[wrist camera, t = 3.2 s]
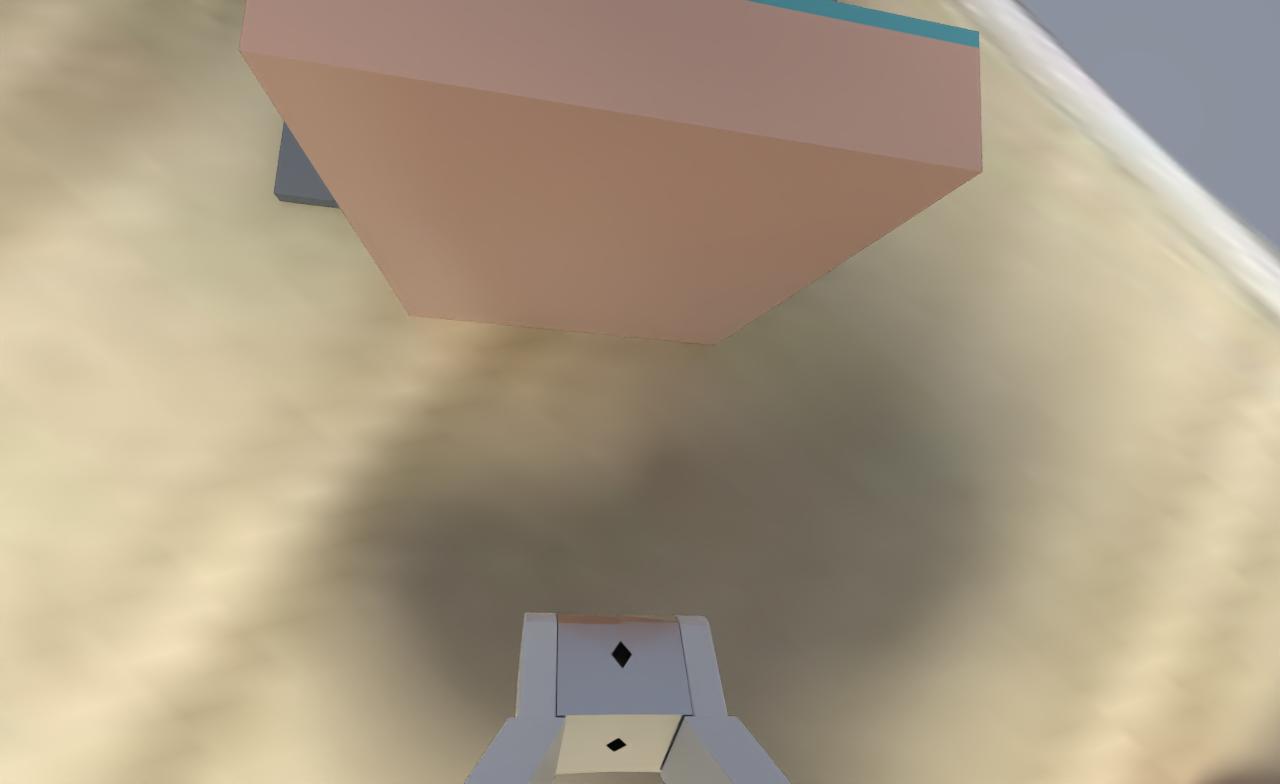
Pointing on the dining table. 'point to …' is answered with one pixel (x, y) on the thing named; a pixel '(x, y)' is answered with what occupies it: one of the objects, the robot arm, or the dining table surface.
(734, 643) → the dining table surface
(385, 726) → the dining table surface
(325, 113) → the tile
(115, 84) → the dining table surface
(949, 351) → the dining table surface
